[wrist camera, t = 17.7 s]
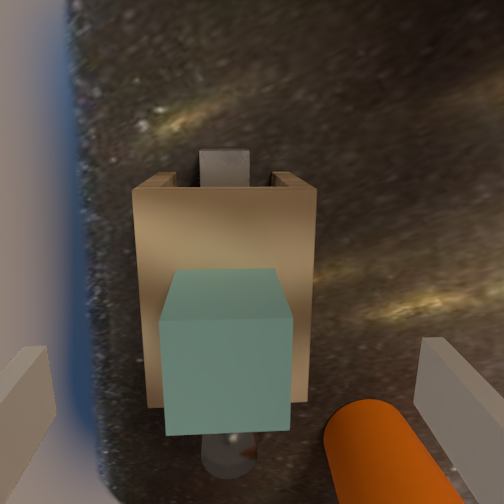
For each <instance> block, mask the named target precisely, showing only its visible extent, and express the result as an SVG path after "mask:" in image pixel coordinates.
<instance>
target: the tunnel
mask: <svg viewBox="0 0 504 504" xmlns="http://www.w3.org/2000/svg"><path fill="white" fill-rule="evenodd" d="M132 200H133V214H134V228H135V241H136V255H137V268H138V282H139V296H140V309H141V323H142V337H143V350H144V364H145V378H146V391H147V405H148V408H163V407H164V396H163V380H162V364H161V348H160V332H159V319H160V316H161V313H162V310H163V307H164V304H165V301H166V298H167V295H168V292H169V289H170V286H171V282H172V279H173V276H174V273H175V270H203V269H255V268H275V271H276V274H277V276H278V279H279V282H280V284H281V287H282V289H283V292H284V295H285V297H286V300H287V302H288V305H289V308H290V310H291V313H292V316H293V345H292V377H291V402H307V398H308V377H309V355H310V333H311V312H312V290H313V269H314V247H315V225H316V204H317V189H316V188H314V187H313V186H311V185H309V184H308V183H306V182H305V181H303V180H302V179H300V178H298V177H297V176H295V175H294V174H292V173H290V172H272V187H177V174H176V172H158V173H156V174H155V175H153V176H152V177H150V178H149V179H148V180H146V181H145V182H143V183H142V184H140V185H139V186H137V187H136V188H134V189H133V190H132Z"/></svg>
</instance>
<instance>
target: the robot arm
mask: <svg viewBox="0 0 504 504" xmlns="http://www.w3.org/2000/svg"><path fill="white" fill-rule="evenodd" d="M413 403H414V405H415V407H416V408H417V410H418V411H419V413H420V414H421V416H422V417H423V419H424V420H425V422H426V423H427V425H428V427H429V428H430V430H431V431H432V433H433V434H434V436H435V437H436V439H437V440H438V442H439V443H440V445H441V447H442V448H443V450H444V451H445V453H446V454H447V456H448V457H449V459H450V460H451V462H452V463H453V465H454V466H455V468H456V470H457V471H458V473H459V474H460V476H461V477H462V479H463V480H464V482H465V483H466V485H467V486H468V488H469V490H470V491H471V493H472V494H473V496H474V497H475V499H476V500H477V502H478V503H479V504H504V398H503V397H502V396H501V395H500V394H499V393H498V392H497V391H496V390H495V389H494V388H493V387H492V386H491V385H490V384H489V383H488V382H487V381H486V380H485V379H484V378H483V377H482V376H481V375H480V374H479V373H478V372H477V371H476V370H475V369H474V368H473V367H472V366H471V365H470V364H469V363H468V362H467V361H466V360H465V359H464V358H463V357H462V356H461V355H460V354H459V353H458V352H457V351H456V350H455V349H454V348H453V347H452V346H451V345H450V344H449V343H448V342H447V341H446V339H445V338H444V337H426V338H422V343H421V351H420V358H419V365H418V372H417V379H416V387H415V394H414V401H413ZM56 415H57V409H56V403H55V397H54V390H53V383H52V377H51V370H50V364H49V358H48V351H47V346H24V347H23V348H22V349H21V350H20V351H19V352H18V353H17V354H16V355H15V356H14V358H13V359H12V360H11V361H10V362H9V363H8V364H7V366H6V367H5V368H4V369H3V370H2V371H1V372H0V504H5V503H6V501H7V499H8V498H9V496H10V494H11V493H12V491H13V489H14V487H15V486H16V484H17V482H18V480H19V479H20V477H21V475H22V474H23V472H24V470H25V468H26V467H27V465H28V463H29V461H30V460H31V458H32V456H33V454H34V453H35V451H36V449H37V447H38V446H39V444H40V442H41V441H42V439H43V437H44V436H45V434H46V432H47V430H48V428H49V427H50V425H51V423H52V422H53V420H54V418H55V417H56Z"/></svg>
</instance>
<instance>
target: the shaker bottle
mask: <svg viewBox="0 0 504 504" xmlns="http://www.w3.org/2000/svg"><path fill="white" fill-rule="evenodd" d="M323 439H324V447H325V451H326V455H327V459H328V463H329V466H330V470H331V474H332V478H333V482H334V486H335V490H336V493H337V497H338V501H339V504H465V502H464V501H463V499H462V498H461V497H460V495H459V494H458V492H457V491H456V490H455V488H454V487H453V486H452V484H451V483H450V481H449V480H448V479H447V477H446V476H445V474H444V473H443V472H442V470H441V469H440V467H439V466H438V465H437V463H436V462H435V461H434V459H433V458H432V456H431V455H430V454H429V452H428V451H427V449H426V448H425V447H424V445H423V444H422V442H421V441H420V440H419V438H418V437H417V436H416V434H415V433H414V431H413V430H412V429H411V427H410V426H409V424H408V423H407V422H406V420H405V419H404V417H403V416H402V415H401V413H400V412H399V411H398V410H397V409H396V408H395V407H393V406H392V405H391V404H389V403H386V402H384V401H380V400H376V399H364V400H358V401H355V402H352V403H349V404H347V405H345V406H344V407H342V408H341V409H339V410H338V411H337V412H336V413H335V414H334V415H333V416H332V417H331V419H330V420H329V422H328V423H327V426H326V428H325V431H324V437H323Z"/></svg>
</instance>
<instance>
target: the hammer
mask: <svg viewBox="0 0 504 504" xmlns="http://www.w3.org/2000/svg"><path fill="white" fill-rule="evenodd" d="M199 158H200V187H249V180H250V151H249V150H248V149H201V150H200V151H199ZM256 460H257V448H256V439H255V432H241V433H219V434H202V449H201V461H202V464H203V466H204V468H205V469H206V470H207V471H208V472H209V473H210V474H212V475H213V476H215V477H218V478H222V479H234V478H238V477H241V476H243V475H245V474H246V473H248V472H249V471H250V470H251V469H252V468H253V466H254V465H255V463H256Z"/></svg>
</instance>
